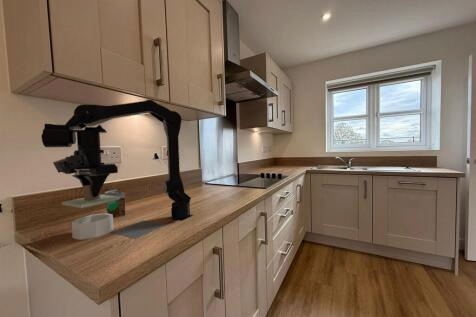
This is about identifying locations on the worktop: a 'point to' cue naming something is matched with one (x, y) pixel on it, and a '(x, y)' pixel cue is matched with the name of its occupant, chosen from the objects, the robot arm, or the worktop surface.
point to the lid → (90, 199)
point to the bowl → (92, 226)
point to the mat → (138, 229)
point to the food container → (116, 203)
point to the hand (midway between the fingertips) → (92, 196)
